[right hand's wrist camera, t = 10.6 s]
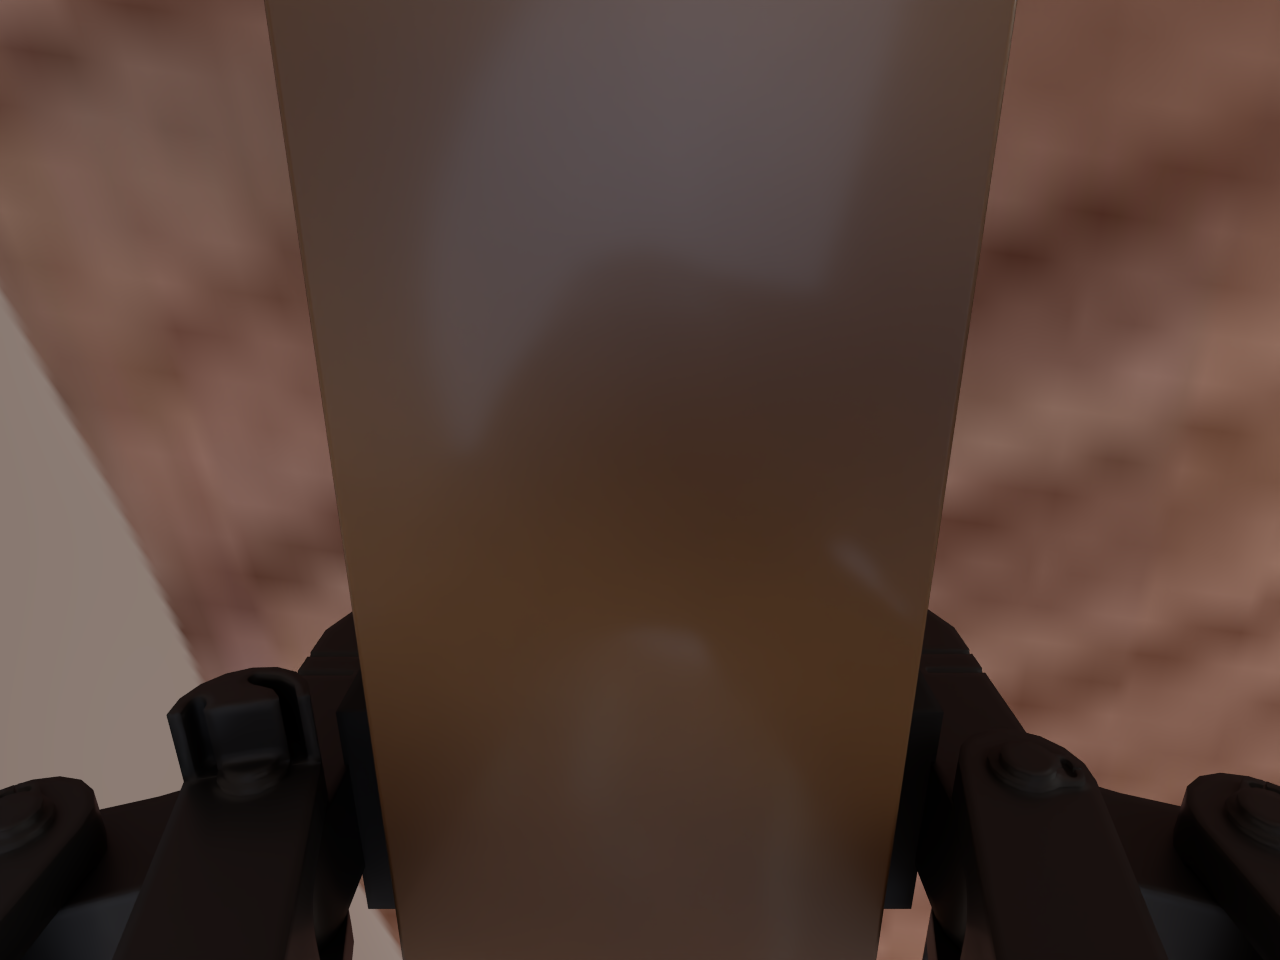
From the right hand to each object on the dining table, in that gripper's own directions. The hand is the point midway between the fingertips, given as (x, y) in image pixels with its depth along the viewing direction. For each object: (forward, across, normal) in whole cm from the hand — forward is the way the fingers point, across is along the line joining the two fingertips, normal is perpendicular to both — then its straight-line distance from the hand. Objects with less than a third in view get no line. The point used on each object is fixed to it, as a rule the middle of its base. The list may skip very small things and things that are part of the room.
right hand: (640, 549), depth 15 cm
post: (+1, 0, -27) cm, 27 cm away
